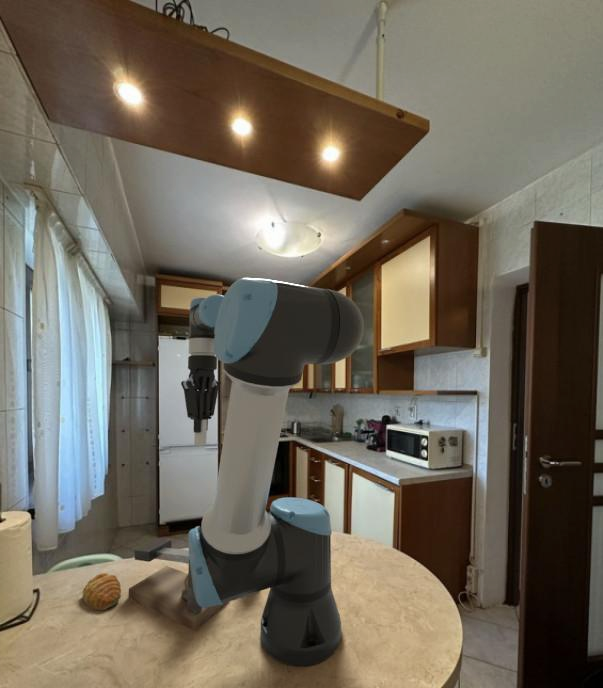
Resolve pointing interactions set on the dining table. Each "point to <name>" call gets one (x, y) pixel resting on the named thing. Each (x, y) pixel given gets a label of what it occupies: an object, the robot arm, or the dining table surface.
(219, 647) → the dining table surface
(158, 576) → the nutcracker base
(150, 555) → the lever
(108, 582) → the pastry
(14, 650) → the dining table surface
